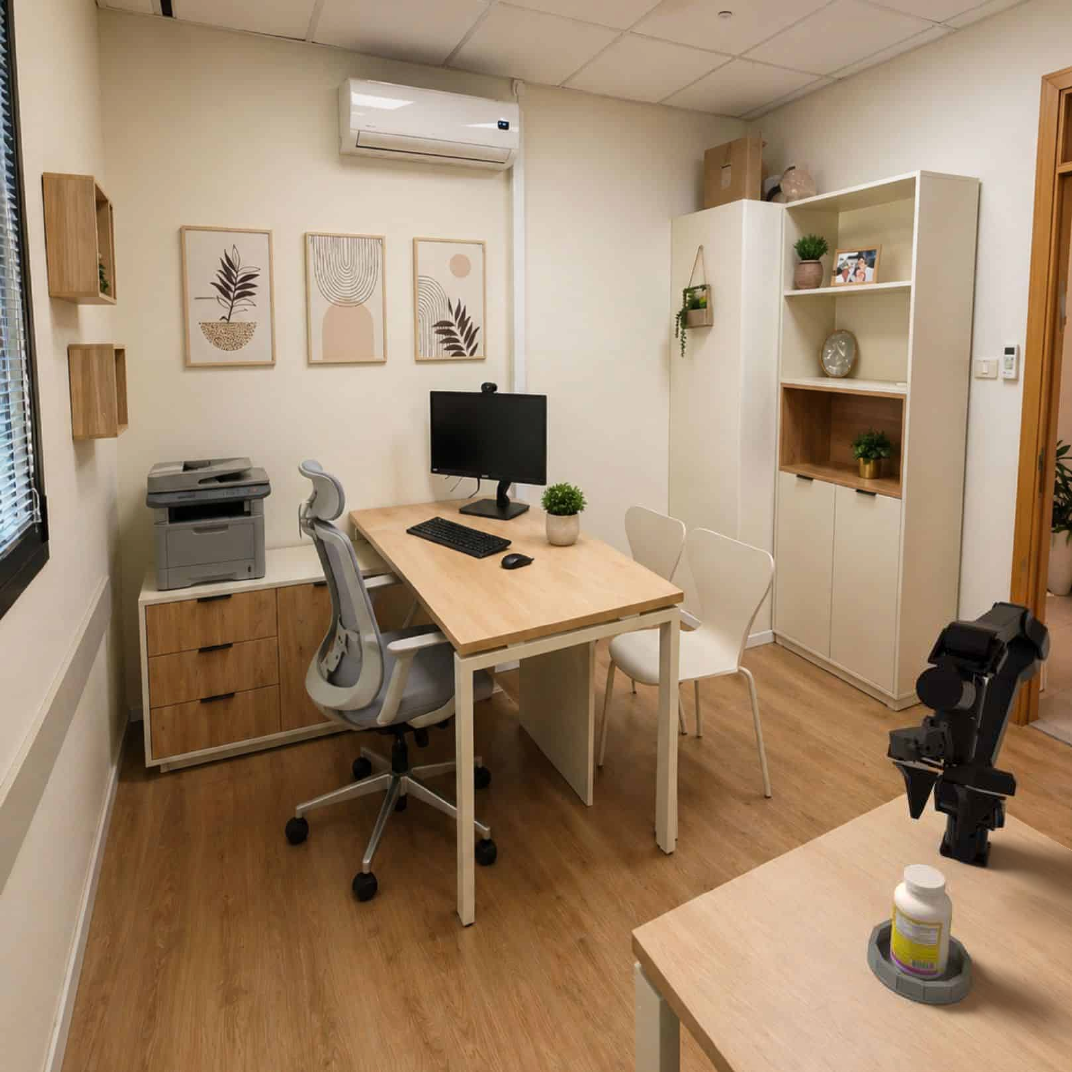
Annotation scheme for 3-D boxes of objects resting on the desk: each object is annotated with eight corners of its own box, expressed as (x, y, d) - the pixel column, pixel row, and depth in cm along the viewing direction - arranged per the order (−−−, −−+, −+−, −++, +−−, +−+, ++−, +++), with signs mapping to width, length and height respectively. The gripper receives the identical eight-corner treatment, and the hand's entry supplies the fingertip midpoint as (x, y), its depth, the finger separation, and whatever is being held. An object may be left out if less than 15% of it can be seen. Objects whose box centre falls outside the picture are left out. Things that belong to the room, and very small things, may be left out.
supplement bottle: (913, 936, 109) (921, 852, 106) (958, 969, 103) (967, 881, 100) (877, 955, 106) (884, 869, 103) (921, 990, 101) (930, 900, 97)
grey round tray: (878, 921, 113) (879, 906, 112) (976, 955, 106) (978, 938, 106) (857, 979, 103) (858, 963, 103) (964, 1020, 97) (966, 1002, 96)
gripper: (865, 693, 120) (844, 799, 119) (953, 715, 102) (930, 841, 101) (931, 708, 122) (912, 812, 121) (1029, 732, 104) (1008, 856, 103)
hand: (936, 828), depth 111 cm, fingers open, 9 cm apart
